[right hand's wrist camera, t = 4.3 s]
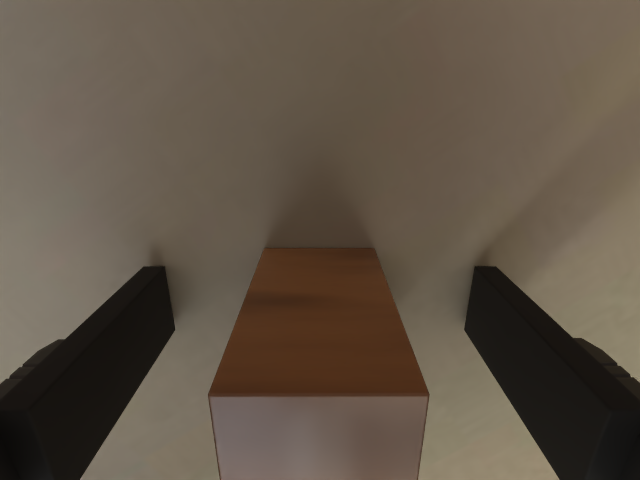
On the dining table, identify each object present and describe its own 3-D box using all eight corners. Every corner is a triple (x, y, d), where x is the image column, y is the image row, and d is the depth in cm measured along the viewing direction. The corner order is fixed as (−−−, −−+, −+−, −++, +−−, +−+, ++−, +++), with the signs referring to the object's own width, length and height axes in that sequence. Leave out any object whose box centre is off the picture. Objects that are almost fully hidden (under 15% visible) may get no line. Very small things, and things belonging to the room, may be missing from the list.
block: (369, 340, 14) (410, 538, 8) (269, 340, 14) (227, 538, 8) (374, 247, 13) (430, 394, 6) (263, 247, 13) (206, 394, 6)
